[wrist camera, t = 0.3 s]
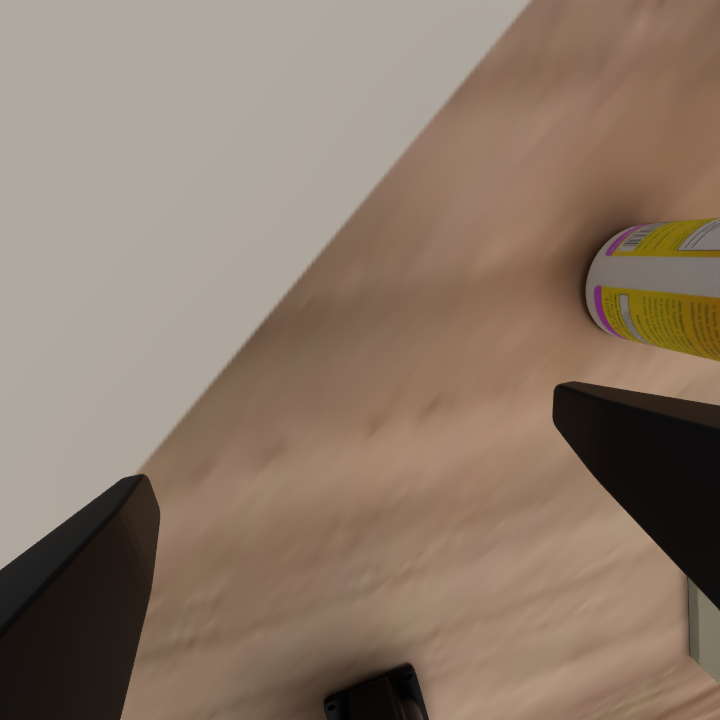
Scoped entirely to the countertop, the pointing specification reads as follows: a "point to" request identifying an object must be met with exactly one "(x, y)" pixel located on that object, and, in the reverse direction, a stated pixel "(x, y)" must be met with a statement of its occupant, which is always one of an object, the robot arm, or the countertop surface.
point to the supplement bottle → (660, 286)
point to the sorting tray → (704, 631)
